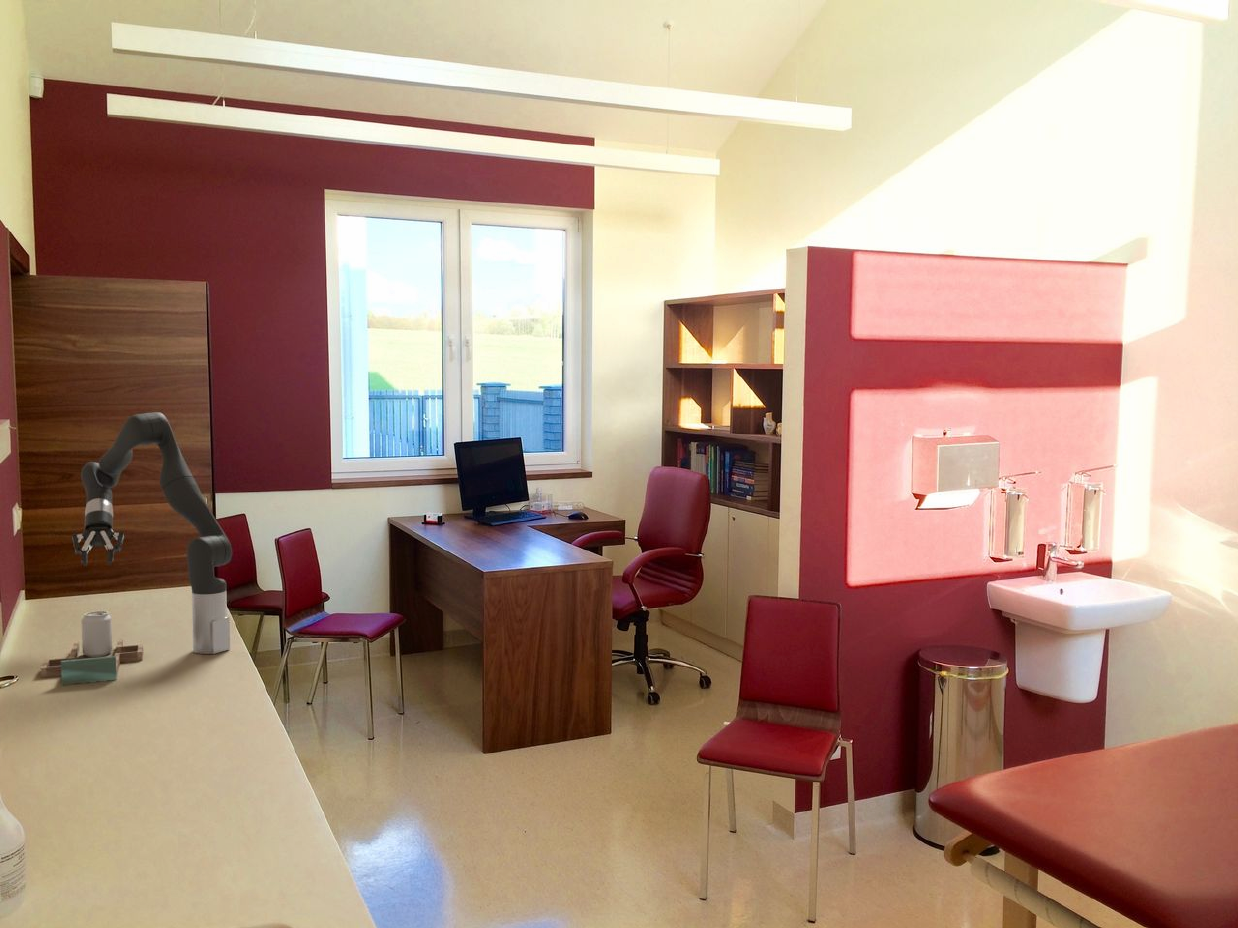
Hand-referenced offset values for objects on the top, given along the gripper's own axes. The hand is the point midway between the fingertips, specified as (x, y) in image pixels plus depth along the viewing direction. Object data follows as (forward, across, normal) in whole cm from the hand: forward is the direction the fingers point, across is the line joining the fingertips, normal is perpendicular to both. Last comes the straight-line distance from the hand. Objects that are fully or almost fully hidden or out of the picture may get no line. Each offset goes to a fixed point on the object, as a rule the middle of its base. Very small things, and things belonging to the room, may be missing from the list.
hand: (97, 562), depth 290 cm
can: (+25, 0, +9) cm, 27 cm away
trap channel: (+33, 0, +1) cm, 33 cm away
